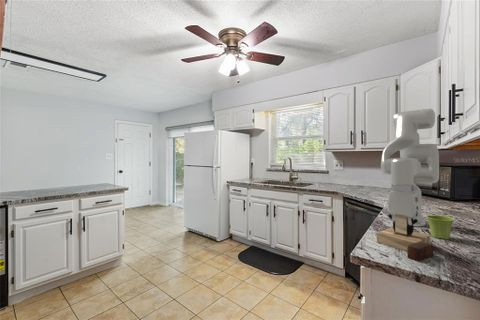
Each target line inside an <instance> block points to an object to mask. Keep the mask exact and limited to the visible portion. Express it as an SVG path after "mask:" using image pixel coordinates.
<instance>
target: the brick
mask: <svg viewBox="0 0 480 320" xmlns="http://www.w3.org/2000/svg"><path fill="white" fill-rule="evenodd" d="M434 248H435V246H434V245H433V244H429V243H426V242H422V241H419V242H417V243H414V244H411V245H408V247H407V251H406V252H407V258H408V259H410V260H413V261H416V262H420V263H421V261H425V260H427V259H429V258H431V257H433V256H434V252H435V249H434Z"/></svg>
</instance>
